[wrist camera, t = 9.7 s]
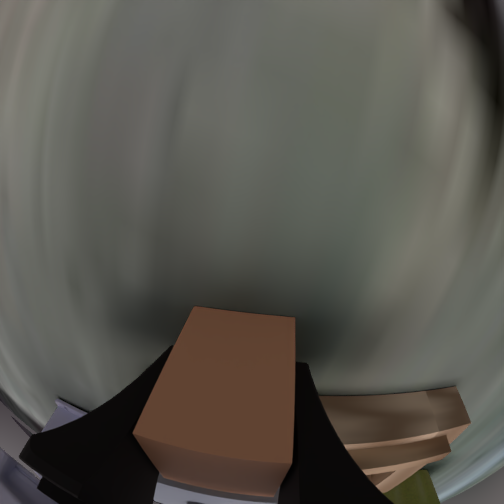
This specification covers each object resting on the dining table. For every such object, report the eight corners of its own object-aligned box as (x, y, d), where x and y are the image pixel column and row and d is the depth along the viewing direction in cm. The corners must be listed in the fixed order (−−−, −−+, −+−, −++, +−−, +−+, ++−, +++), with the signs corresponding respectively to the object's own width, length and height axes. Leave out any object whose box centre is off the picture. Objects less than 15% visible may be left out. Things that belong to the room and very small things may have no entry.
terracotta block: (200, 370, 12) (163, 477, 7) (194, 305, 11) (132, 433, 5) (282, 381, 12) (273, 497, 7) (294, 317, 10) (292, 463, 5)
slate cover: (163, 475, 14) (152, 511, 11) (134, 432, 11) (112, 482, 8) (270, 494, 14) (265, 533, 11) (287, 461, 10) (282, 521, 7)
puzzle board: (180, 454, 18) (168, 493, 14) (149, 371, 13) (118, 431, 9) (383, 465, 16) (387, 503, 13) (455, 386, 11) (476, 438, 8)
